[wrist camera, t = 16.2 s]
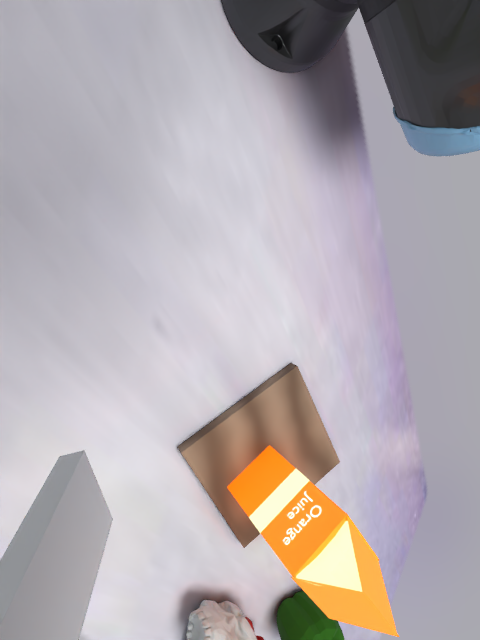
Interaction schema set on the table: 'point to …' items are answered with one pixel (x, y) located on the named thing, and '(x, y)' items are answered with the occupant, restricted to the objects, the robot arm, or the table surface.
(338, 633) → the bell pepper
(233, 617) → the white red rounded lump
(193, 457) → the board
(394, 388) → the table surface
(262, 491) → the orange juice
